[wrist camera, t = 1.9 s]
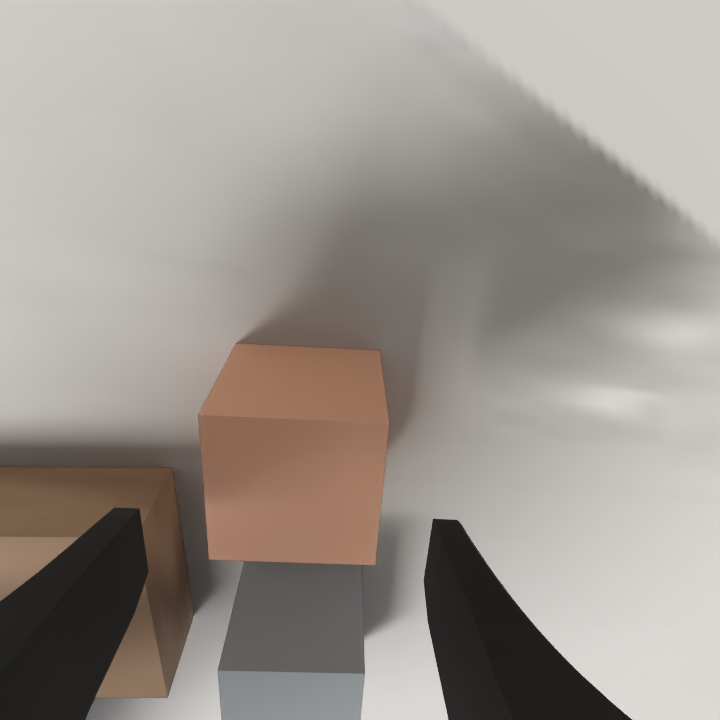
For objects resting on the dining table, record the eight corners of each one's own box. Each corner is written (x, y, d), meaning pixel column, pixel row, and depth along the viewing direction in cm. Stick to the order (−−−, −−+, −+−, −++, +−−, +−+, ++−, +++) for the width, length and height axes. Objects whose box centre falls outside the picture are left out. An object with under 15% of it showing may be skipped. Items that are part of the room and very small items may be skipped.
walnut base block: (195, 609, 24) (167, 697, 20) (16, 608, 23) (-45, 698, 20) (174, 463, 20) (136, 537, 17) (-35, 461, 20) (-120, 536, 16)
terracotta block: (369, 466, 20) (375, 565, 16) (241, 461, 20) (208, 559, 15) (379, 349, 18) (389, 423, 14) (236, 342, 18) (197, 414, 13)
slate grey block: (355, 642, 24) (356, 760, 20) (248, 639, 24) (224, 758, 20) (361, 562, 22) (364, 673, 18) (244, 558, 22) (217, 670, 18)
